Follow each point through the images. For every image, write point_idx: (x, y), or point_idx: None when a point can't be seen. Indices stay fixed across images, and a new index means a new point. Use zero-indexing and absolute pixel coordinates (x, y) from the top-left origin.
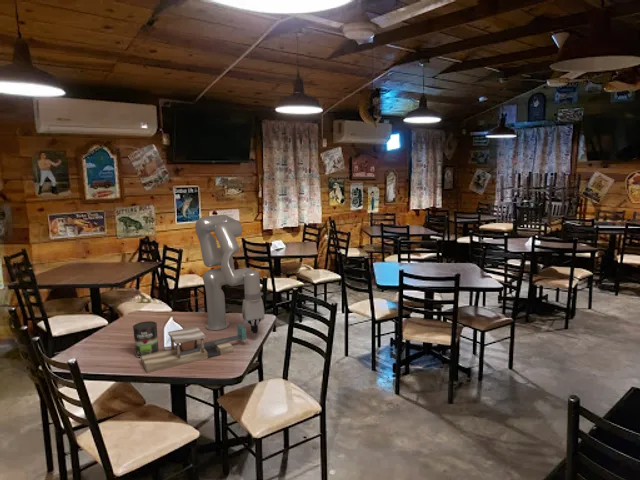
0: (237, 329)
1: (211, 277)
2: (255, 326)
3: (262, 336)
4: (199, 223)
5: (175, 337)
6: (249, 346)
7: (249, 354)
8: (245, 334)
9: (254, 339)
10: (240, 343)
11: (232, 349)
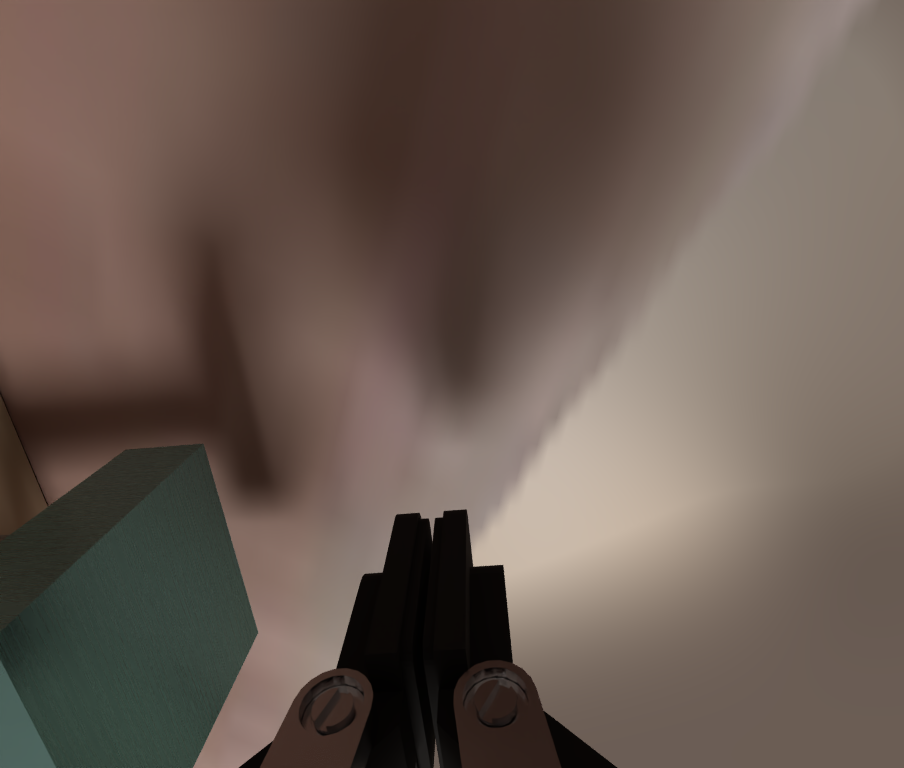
0: (3, 542)
1: None
2: (441, 754)
3: (632, 320)
4: None
5: None
6: (328, 582)
7: None
8: (207, 715)
9: (464, 383)
10: (224, 431)
11: None
